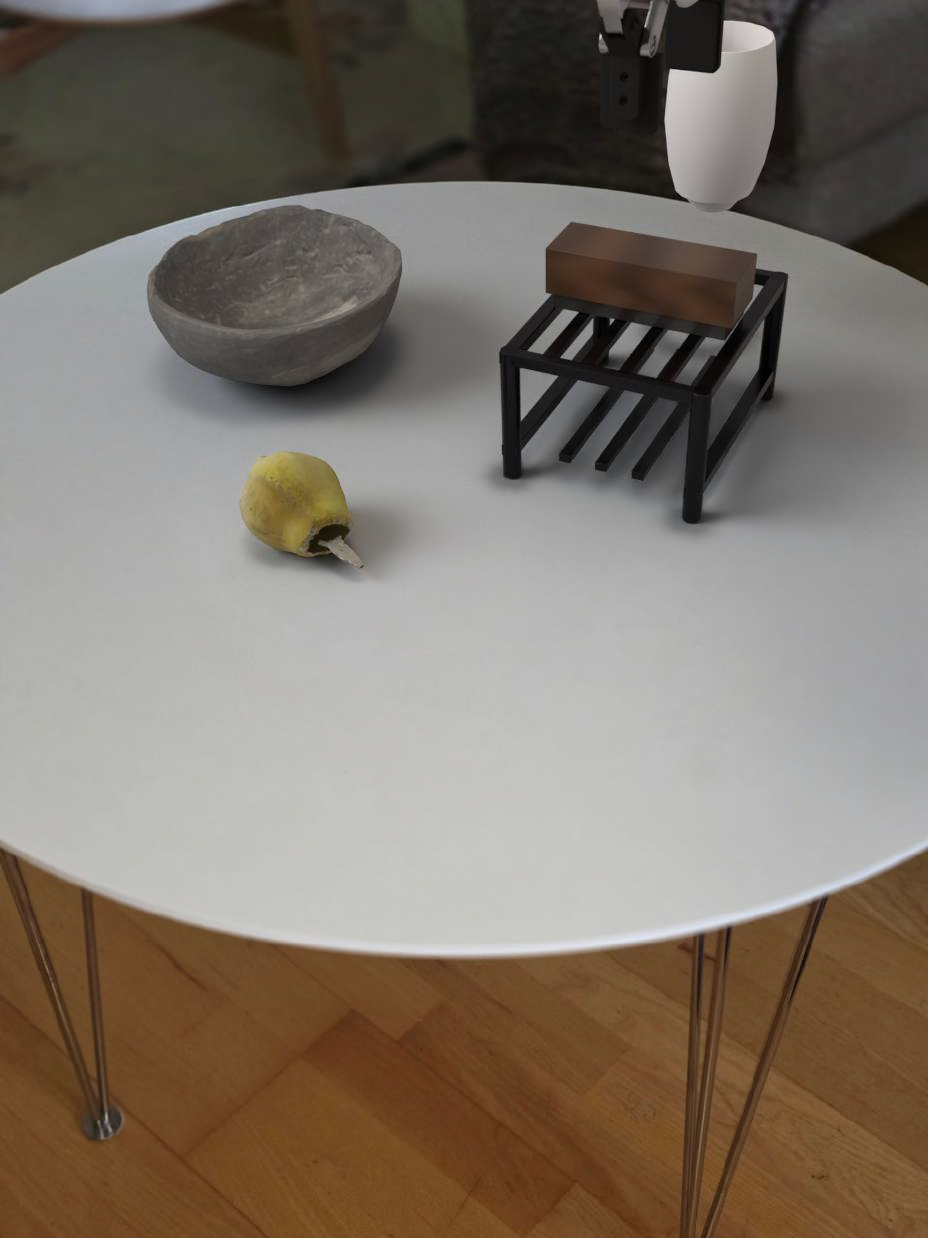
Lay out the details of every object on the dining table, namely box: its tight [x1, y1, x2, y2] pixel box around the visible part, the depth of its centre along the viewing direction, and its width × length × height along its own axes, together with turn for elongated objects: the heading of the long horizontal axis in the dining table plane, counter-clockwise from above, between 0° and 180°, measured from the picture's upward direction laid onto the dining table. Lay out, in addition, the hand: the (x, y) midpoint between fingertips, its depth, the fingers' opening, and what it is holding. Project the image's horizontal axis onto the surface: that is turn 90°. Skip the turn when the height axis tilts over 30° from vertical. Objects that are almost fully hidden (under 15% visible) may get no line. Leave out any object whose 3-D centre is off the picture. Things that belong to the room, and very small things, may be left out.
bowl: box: [146, 204, 403, 387], centre depth 97 cm, size 18×18×8 cm
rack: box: [498, 267, 789, 524], centre depth 87 cm, size 13×16×9 cm
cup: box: [664, 20, 778, 213], centre depth 94 cm, size 7×7×21 cm
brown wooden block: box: [545, 221, 758, 342], centre depth 83 cm, size 12×4×4 cm, turn 64°
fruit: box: [239, 450, 365, 569], centre depth 81 cm, size 6×6×10 cm
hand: (662, 97), depth 75 cm, fingers open, 9 cm apart
